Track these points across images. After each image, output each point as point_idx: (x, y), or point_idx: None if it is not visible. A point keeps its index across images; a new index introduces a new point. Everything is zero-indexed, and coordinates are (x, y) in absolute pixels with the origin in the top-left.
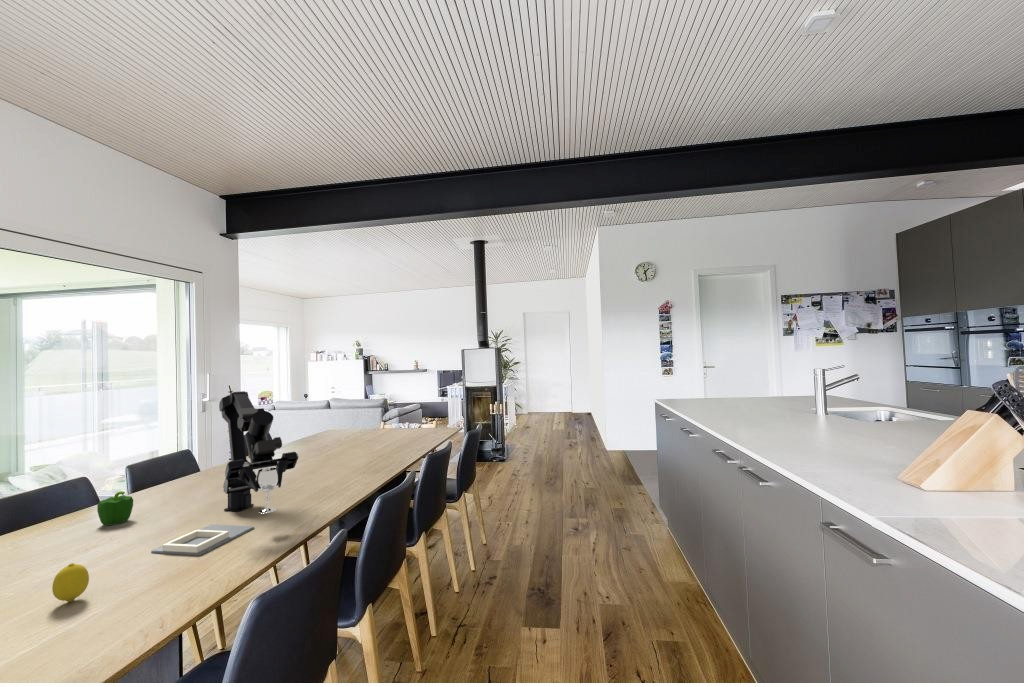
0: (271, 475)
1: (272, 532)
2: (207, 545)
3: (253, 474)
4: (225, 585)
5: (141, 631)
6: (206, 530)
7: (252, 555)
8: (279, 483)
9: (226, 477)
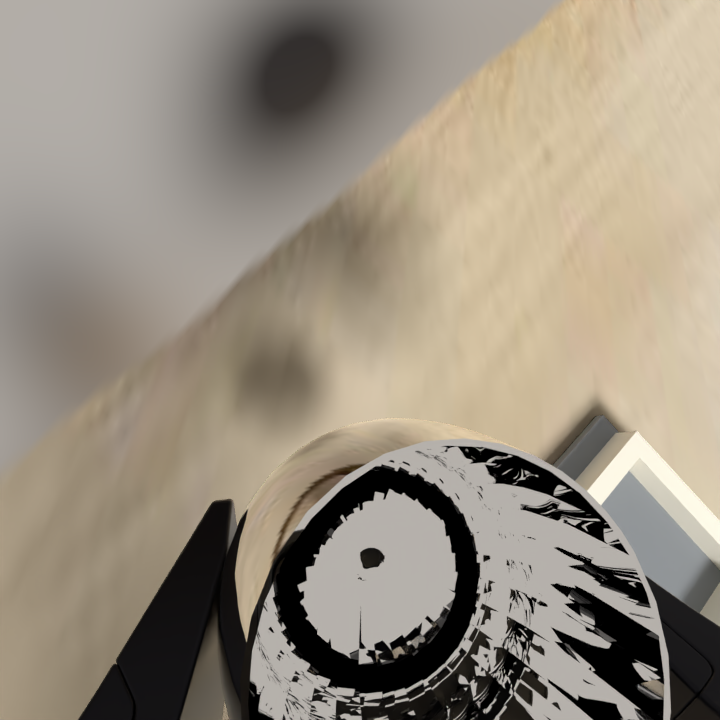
0: (380, 426)
1: None
2: (589, 472)
3: (690, 672)
4: (513, 86)
5: (665, 8)
6: None
7: (420, 262)
8: (225, 520)
9: None
